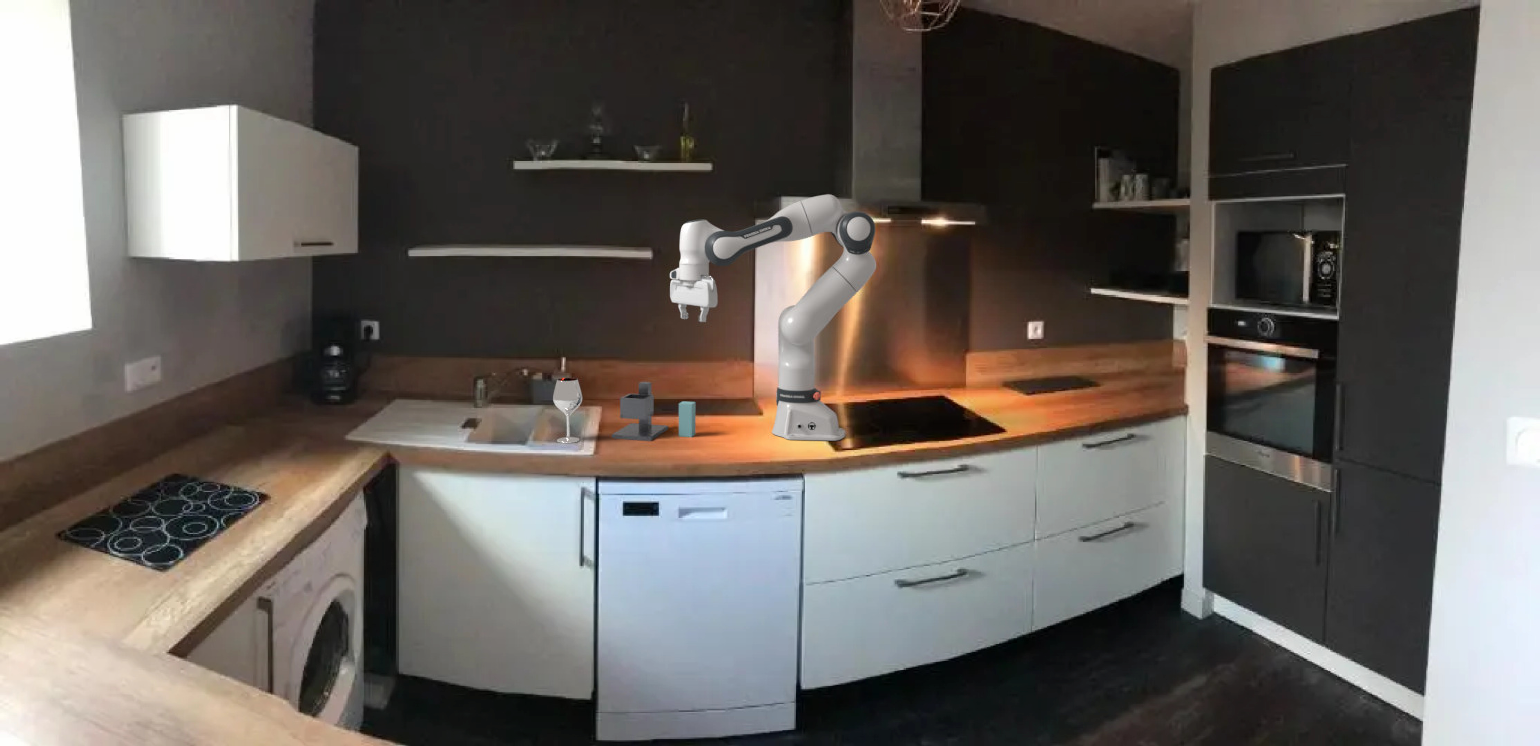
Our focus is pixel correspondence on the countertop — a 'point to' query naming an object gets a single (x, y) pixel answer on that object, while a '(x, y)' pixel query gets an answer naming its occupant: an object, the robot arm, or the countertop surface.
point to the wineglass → (567, 402)
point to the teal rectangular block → (687, 419)
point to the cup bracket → (639, 415)
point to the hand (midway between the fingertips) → (693, 320)
